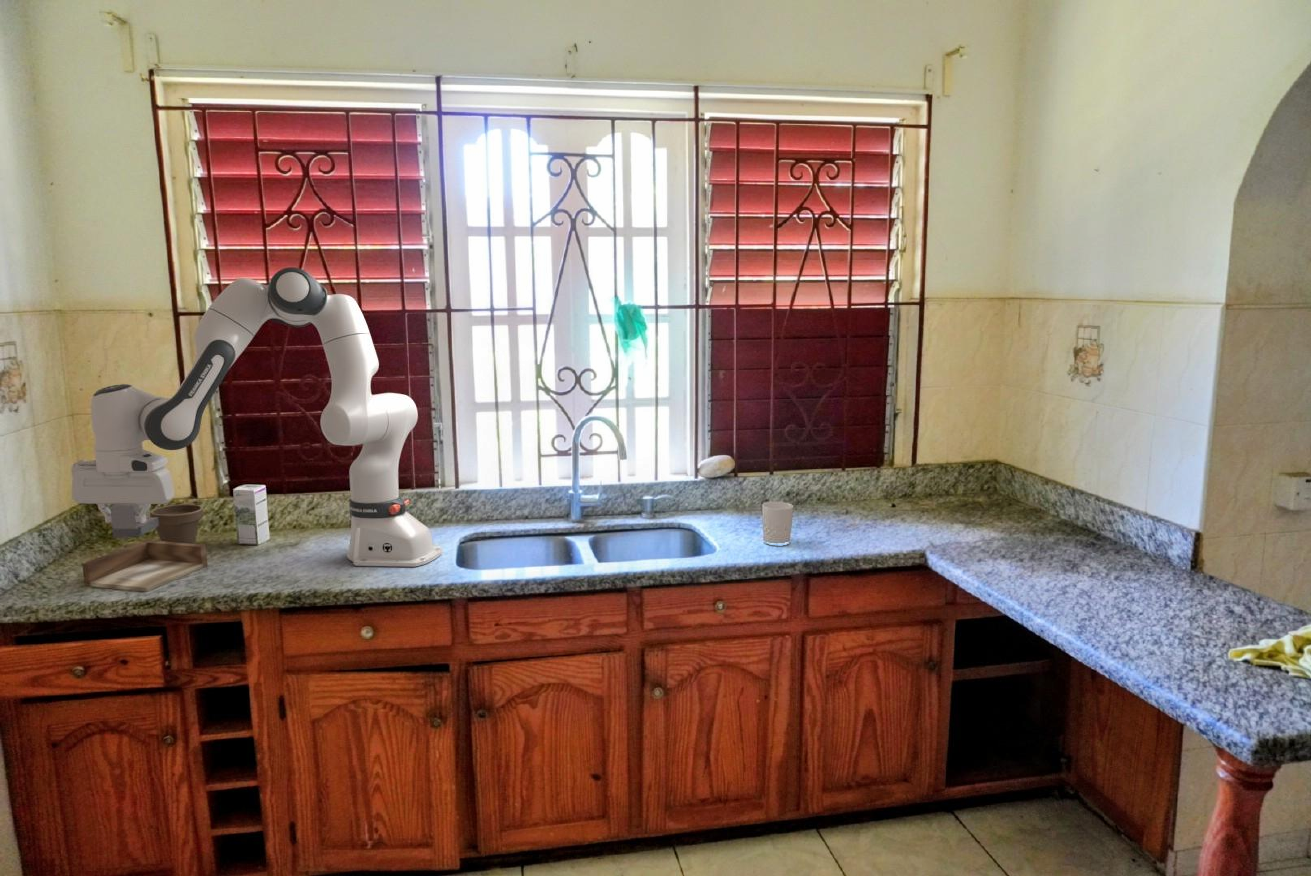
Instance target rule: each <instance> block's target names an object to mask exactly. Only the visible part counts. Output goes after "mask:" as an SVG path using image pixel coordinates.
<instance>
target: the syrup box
mask: <svg viewBox="0 0 1311 876" xmlns="http://www.w3.org/2000/svg"><path fill="white" fill-rule="evenodd" d="M266 487H267V486H266V485H265V484H242V485H239V486H237V487H235V488H233V489H232V490H233V491H232V493H233V504H234V516H235V517H234V518H235V526H236V529H235V530H236V537H237V538H236V539H237V541H236V542H237V545H251V546H253V545H255V546H258V545H261V544H264V543H265V542H267V541H269V540H270V526H269V517H268V516H269V513H268V501H267V488H266Z"/></svg>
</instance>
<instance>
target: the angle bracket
mask: <svg viewBox="0 0 1311 876" xmlns="http://www.w3.org/2000/svg"><path fill="white" fill-rule="evenodd" d="M109 509H110V511H111V519H112V523H111V527H112V537H113V538H121V539H122V538H123V539H124V538H127V539H128V538H132V539H133V538H138V537H140V536H142V535H144V534H146V533H149V532H150V531H152V530H155V529H157V528H156V527H158V526H159V521H158V518H157V517H149V516H146V522H145V523H136V522H135V516H136V515H138V514H140V511H141V510H140V508H139V504H111V505H110V506H109Z"/></svg>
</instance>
